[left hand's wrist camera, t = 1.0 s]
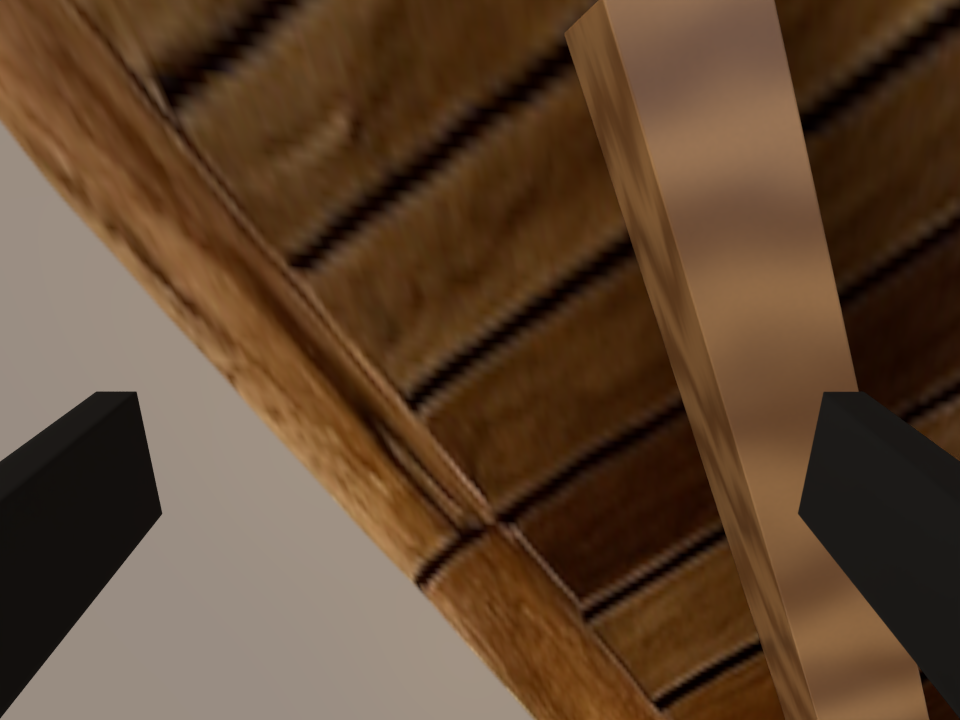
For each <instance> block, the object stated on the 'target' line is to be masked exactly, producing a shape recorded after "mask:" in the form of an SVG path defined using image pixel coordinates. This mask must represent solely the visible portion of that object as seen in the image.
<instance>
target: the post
mask: <svg viewBox="0 0 960 720" xmlns="http://www.w3.org/2000/svg"><path fill="white" fill-rule="evenodd" d="M565 38H566V41H567V44H568V47H569V50H570V53H571V56H572V59H573V62H574V65H575V69H576V72H577V75H578V78H579V81H580V84H581V87H582V90H583V93H584V96H585V100H586V103H587V106H588V109H589V112H590V115H591V118H592V121H593V124H594V127H595V130H596V134H597V137H598V140H599V143H600V146H601V149H602V152H603V155H604V158H605V161H606V165H607V168H608V171H609V174H610V177H611V180H612V183H613V186H614V189H615V192H616V196H617V199H618V202H619V205H620V208H621V211H622V214H623V217H624V220H625V223H626V227H627V230H628V233H629V236H630V239H631V242H632V245H633V248H634V251H635V254H636V258H637V261H638V264H639V267H640V270H641V273H642V276H643V279H644V282H645V285H646V289H647V292H648V295H649V298H650V301H651V304H652V307H653V310H654V313H655V316H656V320H657V323H658V326H659V329H660V332H661V335H662V338H663V341H664V344H665V347H666V351H667V354H668V357H669V360H670V363H671V366H672V369H673V372H674V375H675V378H676V381H677V385H678V388H679V391H680V394H681V397H682V400H683V403H684V406H685V409H686V412H687V416H688V419H689V422H690V425H691V428H692V431H693V434H694V437H695V440H696V443H697V447H698V450H699V453H700V456H701V459H702V462H703V465H704V468H705V471H706V474H707V478H708V481H709V484H710V487H711V490H712V493H713V496H714V499H715V502H716V505H717V509H718V512H719V515H720V518H721V521H722V524H723V527H724V530H725V533H726V536H727V540H728V543H729V546H730V549H731V552H732V555H733V558H734V561H735V564H736V567H737V571H738V574H739V577H740V580H741V583H742V586H743V589H744V592H745V595H746V598H747V602H748V605H749V608H750V611H751V614H752V617H753V620H754V623H755V626H756V629H757V632H758V636H759V639H760V642H761V645H762V648H763V651H764V654H765V657H766V660H767V663H768V667H769V670H770V673H771V676H772V679H773V682H774V685H775V688H776V691H777V694H778V698H779V701H780V704H781V707H782V710H783V713H784V716H785V719H786V720H929V716H928V712H927V707H926V702H925V698H924V693H923V688H922V684H921V679H920V674H919V670H918V665H917V664H916V662H915V661H914V660H913V659H912V657H911V656H910V655H909V654H908V652H907V651H906V650H905V649H904V647H903V646H902V645H901V644H900V642H899V641H898V640H897V638H896V637H895V636H894V635H893V633H892V632H891V631H890V630H889V628H888V627H887V626H886V625H885V623H884V622H883V621H882V620H881V618H880V617H879V616H878V615H877V613H876V612H875V611H874V609H873V608H872V607H871V606H870V604H869V603H868V602H867V601H866V599H865V598H864V597H863V596H862V594H861V593H860V592H859V591H858V589H857V588H856V587H855V585H854V584H853V583H852V582H851V580H850V579H849V578H848V577H847V575H846V574H845V573H844V572H843V570H842V569H841V568H840V567H839V565H838V564H837V563H836V561H835V560H834V559H833V558H832V556H831V555H830V554H829V553H828V551H827V550H826V549H825V548H824V546H823V545H822V544H821V543H820V541H819V540H818V539H817V537H816V536H815V535H814V534H813V532H812V531H811V530H810V529H809V527H808V526H807V525H806V524H805V522H804V521H803V520H802V519H801V517H800V516H799V515H798V510H799V506H800V501H801V496H802V491H803V487H804V482H805V477H806V472H807V468H808V463H809V458H810V453H811V449H812V444H813V439H814V434H815V430H816V425H817V420H818V415H819V411H820V406H821V401H822V396H823V392H859V391H858V386H857V381H856V377H855V372H854V367H853V363H852V358H851V353H850V349H849V344H848V339H847V335H846V330H845V325H844V321H843V316H842V311H841V307H840V302H839V298H838V293H837V288H836V284H835V279H834V274H833V270H832V265H831V260H830V256H829V251H828V246H827V242H826V237H825V232H824V228H823V223H822V218H821V214H820V209H819V204H818V200H817V195H816V191H815V186H814V181H813V177H812V172H811V167H810V163H809V158H808V153H807V149H806V144H805V139H804V135H803V130H802V125H801V121H800V116H799V111H798V107H797V102H796V97H795V93H794V88H793V84H792V79H791V74H790V70H789V65H788V60H787V56H786V51H785V46H784V42H783V37H782V32H781V28H780V23H779V18H778V14H777V9H776V4H775V0H598V1H597V2H596V3H595V4H594V5H593V6H592V7H591V8H590V9H589V10H588V11H587V12H586V13H585V14H584V15H583V16H582V17H581V18H580V19H579V20H578V21H577V22H575V23H574V24H573V25H572V26H571V27H570V28H569V29H568V30H567V31H566V32H565Z"/></svg>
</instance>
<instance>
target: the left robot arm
mask: <svg viewBox="0 0 960 720" xmlns="http://www.w3.org/2000/svg"><path fill="white" fill-rule="evenodd" d="M161 515H162V510H161V506H160V501H159V496H158V491H157V487H156V482H155V477H154V472H153V468H152V463H151V458H150V453H149V449H148V444H147V439H146V435H145V430H144V425H143V420H142V415H141V411H140V406H139V401H138V397H137V392H95V393H94V394H92V395H91V396H90V397H88V398H87V399H86V400H84V401H83V402H82V403H80V404H79V405H77V406H76V407H75V408H73V409H72V410H71V411H69V412H68V413H66V414H65V415H64V416H62V417H61V418H59V419H58V420H57V421H55V422H54V423H53V424H51V425H50V426H48V427H47V428H46V429H44V430H43V431H42V432H40V433H39V434H37V435H36V436H35V437H33V438H32V439H31V440H29V441H28V442H27V443H25V444H24V445H22V446H21V447H20V448H18V449H17V450H16V451H14V452H13V453H11V454H10V455H9V456H7V457H6V458H5V459H3V460H2V461H0V718H1V717H2V715H3V714H4V713H5V712H6V710H7V709H8V708H9V707H10V705H11V704H12V703H13V702H14V700H15V699H16V698H17V697H18V695H19V694H20V693H21V692H22V690H23V689H24V688H25V686H26V685H27V684H28V683H29V681H30V680H31V679H32V678H33V676H34V675H35V674H36V673H37V671H38V670H39V669H40V668H41V666H42V665H43V664H44V662H45V661H46V660H47V659H48V657H49V656H50V655H51V654H52V652H53V651H54V650H55V649H56V647H57V646H58V645H59V644H60V642H61V641H62V640H63V638H64V637H65V636H66V635H67V633H68V632H69V631H70V630H71V628H72V627H73V626H74V625H75V623H76V622H77V621H78V620H79V618H80V617H81V616H82V615H83V613H84V612H85V611H86V609H87V608H88V607H89V606H90V604H91V603H92V602H93V601H94V599H95V598H96V597H97V596H98V594H99V593H100V592H101V590H102V589H103V588H104V587H105V585H106V584H107V583H108V582H109V580H110V579H111V578H112V577H113V575H114V574H115V573H116V571H117V570H118V569H119V568H120V566H121V565H122V564H123V563H124V561H125V560H126V559H127V558H128V556H129V555H130V554H131V553H132V551H133V550H134V549H135V548H136V546H137V545H138V544H139V543H140V541H141V540H142V539H143V537H144V536H145V535H146V534H147V532H148V531H149V530H150V529H151V527H152V526H153V525H154V524H155V522H156V521H157V520H158V519H159V517H160V516H161ZM798 515H799V516H800V517H801V519H802V520H803V521H804V522H805V524H806V525H807V526H808V527H809V529H810V530H811V531H812V532H813V534H814V535H815V536H816V537H817V539H818V540H819V541H820V543H821V544H822V545H823V546H824V548H825V549H826V550H827V551H828V553H829V554H830V555H831V556H832V558H833V559H834V560H835V561H836V563H837V564H838V565H839V567H840V568H841V569H842V570H843V572H844V573H845V574H846V575H847V577H848V578H849V579H850V580H851V582H852V583H853V584H854V585H855V587H856V588H857V589H858V591H859V592H860V593H861V594H862V596H863V597H864V598H865V599H866V601H867V602H868V603H869V604H870V606H871V607H872V608H873V609H874V611H875V612H876V613H877V615H878V616H879V617H880V618H881V620H882V621H883V622H884V623H885V625H886V626H887V627H888V628H889V630H890V631H891V632H892V633H893V635H894V636H895V637H896V638H897V640H898V641H899V642H900V644H901V645H902V646H903V647H904V649H905V650H906V651H907V652H908V654H909V655H910V656H911V657H912V659H913V660H914V661H915V662H916V664H917V665H918V666H919V668H920V669H921V670H922V671H923V673H924V674H925V675H926V676H927V678H928V679H929V680H930V681H931V683H932V684H933V685H934V686H935V688H936V689H937V690H938V692H939V693H940V694H941V695H942V697H943V698H944V699H945V700H946V702H947V703H948V704H949V705H950V707H951V708H952V709H953V710H954V712H955V713H956V714H957V716H958V717H959V718H960V461H958V460H957V459H955V458H954V457H953V456H951V455H950V454H949V453H947V452H946V451H945V450H943V449H942V448H940V447H939V446H938V445H936V444H935V443H934V442H932V441H931V440H929V439H928V438H927V437H925V436H924V435H923V434H921V433H920V432H918V431H917V430H916V429H914V428H913V427H912V426H910V425H909V424H907V423H906V422H905V421H903V420H902V419H901V418H899V417H898V416H896V415H895V414H894V413H892V412H891V411H890V410H888V409H887V408H885V407H884V406H883V405H881V404H880V403H879V402H877V401H876V400H874V399H873V398H872V397H870V396H869V395H868V394H866V393H865V392H823V396H822V401H821V406H820V411H819V415H818V420H817V425H816V430H815V434H814V439H813V444H812V449H811V453H810V458H809V463H808V468H807V472H806V477H805V482H804V487H803V491H802V496H801V501H800V506H799V510H798Z"/></svg>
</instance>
